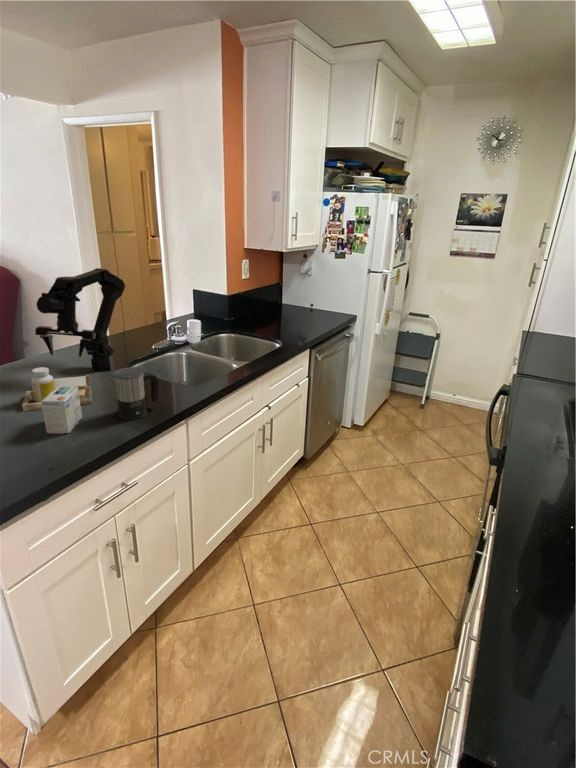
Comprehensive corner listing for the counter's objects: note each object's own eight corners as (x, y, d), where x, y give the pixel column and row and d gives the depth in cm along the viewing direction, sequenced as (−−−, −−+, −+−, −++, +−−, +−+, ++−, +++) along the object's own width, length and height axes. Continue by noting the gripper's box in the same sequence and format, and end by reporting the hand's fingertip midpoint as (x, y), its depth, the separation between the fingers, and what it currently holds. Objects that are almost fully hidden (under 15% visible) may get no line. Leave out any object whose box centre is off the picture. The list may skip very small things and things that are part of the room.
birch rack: (91, 390, 151) (89, 374, 149) (91, 403, 141) (89, 387, 139) (27, 396, 143) (24, 380, 141) (23, 411, 133) (19, 394, 131)
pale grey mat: (89, 377, 162) (89, 375, 162) (89, 389, 151) (89, 388, 151) (51, 380, 157) (51, 379, 156) (49, 393, 146) (48, 392, 146)
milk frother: (130, 423, 130) (125, 379, 124) (98, 409, 137) (93, 367, 132) (164, 408, 141) (162, 367, 136) (134, 396, 149) (130, 357, 143)
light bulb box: (61, 417, 131) (56, 386, 127) (83, 417, 132) (78, 386, 127) (45, 433, 121) (39, 400, 117) (69, 434, 122) (64, 401, 118)
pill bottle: (61, 399, 142) (56, 368, 138) (45, 407, 136) (39, 374, 132) (46, 396, 144) (41, 365, 140) (30, 403, 138) (24, 371, 134)
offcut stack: (86, 394, 148) (85, 387, 147) (87, 401, 143) (86, 394, 142) (64, 397, 145) (63, 390, 144) (63, 404, 140) (62, 397, 139)
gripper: (98, 314, 158) (97, 354, 161) (44, 309, 153) (44, 350, 156) (93, 316, 148) (92, 359, 151) (34, 311, 142) (34, 355, 145)
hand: (66, 356), depth 151 cm, fingers open, 9 cm apart
